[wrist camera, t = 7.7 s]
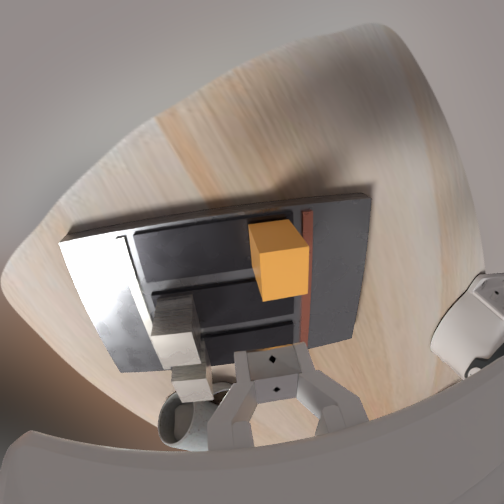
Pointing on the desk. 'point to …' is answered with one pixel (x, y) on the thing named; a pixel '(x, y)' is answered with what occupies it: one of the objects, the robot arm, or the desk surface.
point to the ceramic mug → (187, 421)
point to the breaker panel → (216, 285)
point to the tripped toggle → (279, 259)
